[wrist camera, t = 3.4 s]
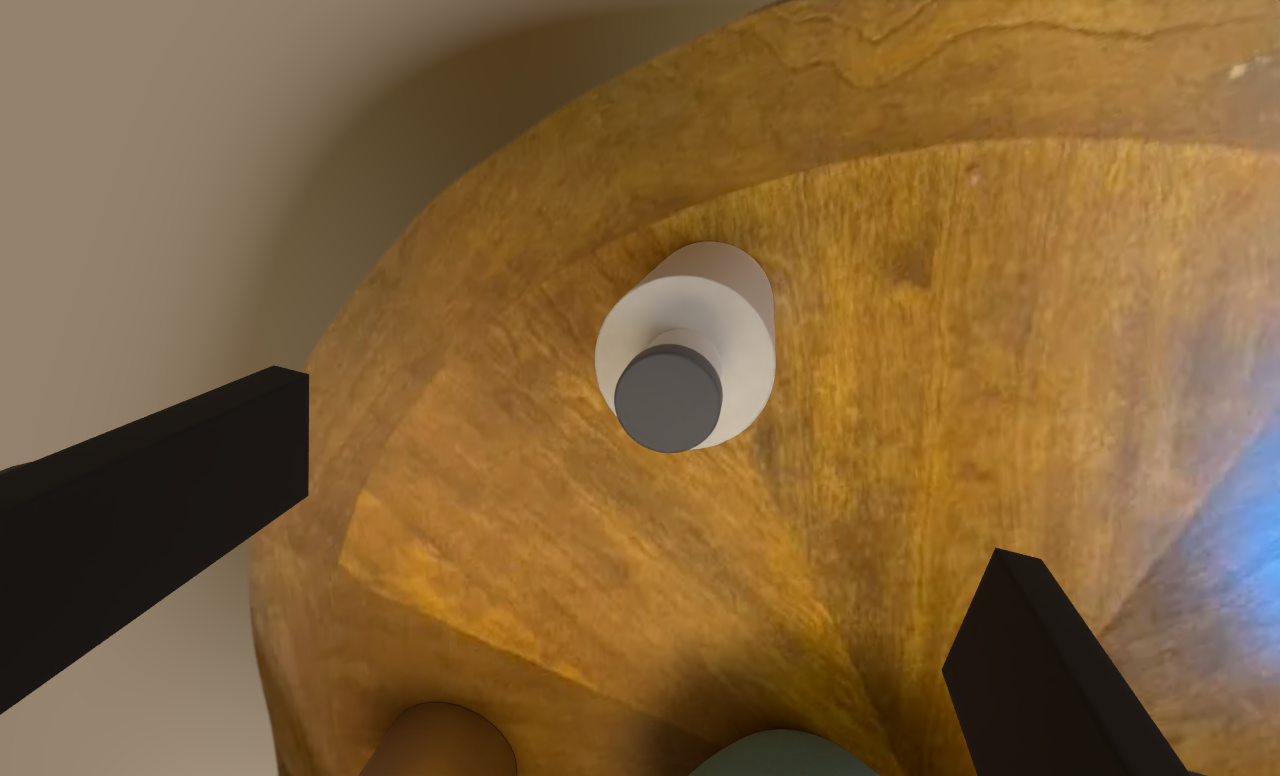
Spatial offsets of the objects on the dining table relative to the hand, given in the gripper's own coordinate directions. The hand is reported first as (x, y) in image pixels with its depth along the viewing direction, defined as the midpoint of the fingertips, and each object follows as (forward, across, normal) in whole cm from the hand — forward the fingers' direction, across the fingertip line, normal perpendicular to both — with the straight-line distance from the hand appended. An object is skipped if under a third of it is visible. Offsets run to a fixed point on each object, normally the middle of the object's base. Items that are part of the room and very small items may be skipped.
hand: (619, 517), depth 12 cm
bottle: (+20, 0, 0) cm, 20 cm away
